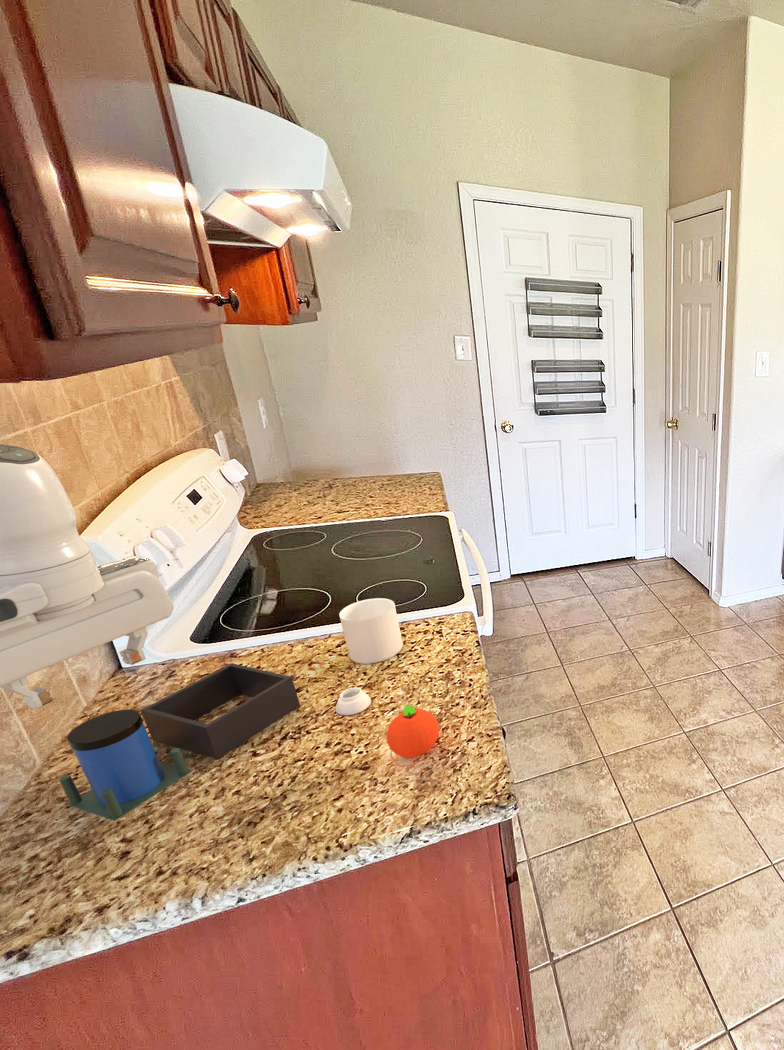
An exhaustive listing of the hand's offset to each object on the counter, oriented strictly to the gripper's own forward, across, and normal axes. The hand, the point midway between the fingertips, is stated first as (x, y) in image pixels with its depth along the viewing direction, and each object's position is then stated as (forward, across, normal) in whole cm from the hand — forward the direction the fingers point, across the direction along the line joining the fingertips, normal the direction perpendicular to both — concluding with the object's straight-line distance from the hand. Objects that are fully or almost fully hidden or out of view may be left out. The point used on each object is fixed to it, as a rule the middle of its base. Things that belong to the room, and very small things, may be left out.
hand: (91, 681), depth 72 cm
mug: (+18, -38, +2) cm, 42 cm away
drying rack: (+18, +1, 0) cm, 18 cm away
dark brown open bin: (+18, -13, -1) cm, 22 cm away
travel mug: (+16, +1, 0) cm, 17 cm away
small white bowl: (+18, -22, +13) cm, 31 cm away
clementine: (+18, -17, +30) cm, 39 cm away
